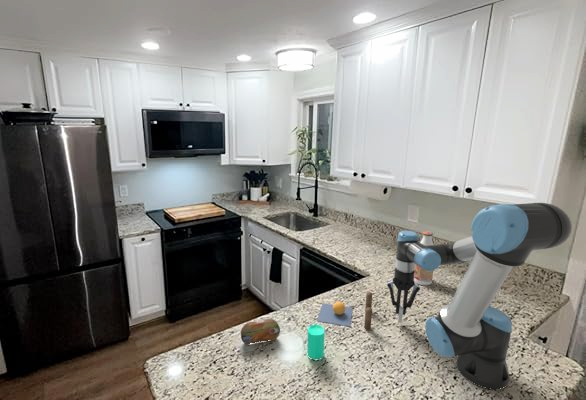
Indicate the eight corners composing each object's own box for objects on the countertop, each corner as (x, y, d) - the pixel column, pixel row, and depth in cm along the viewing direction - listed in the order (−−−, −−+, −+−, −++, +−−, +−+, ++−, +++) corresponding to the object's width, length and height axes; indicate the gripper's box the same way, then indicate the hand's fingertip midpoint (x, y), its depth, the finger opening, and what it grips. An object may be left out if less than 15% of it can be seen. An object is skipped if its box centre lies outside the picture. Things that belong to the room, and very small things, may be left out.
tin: (241, 347, 114) (240, 327, 113) (240, 341, 117) (239, 322, 116) (280, 340, 118) (280, 321, 116) (278, 335, 121) (278, 316, 119)
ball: (329, 310, 134) (337, 319, 133) (338, 304, 131) (347, 313, 131) (331, 303, 139) (339, 312, 138) (340, 297, 136) (348, 306, 136)
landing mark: (350, 326, 127) (350, 326, 127) (317, 321, 130) (317, 320, 130) (352, 308, 140) (352, 307, 140) (322, 303, 143) (322, 303, 143)
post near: (370, 330, 124) (372, 311, 122) (364, 329, 125) (365, 310, 123) (370, 327, 127) (372, 307, 125) (364, 326, 127) (365, 306, 125)
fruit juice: (426, 287, 159) (432, 237, 153) (409, 280, 166) (414, 232, 160) (435, 282, 165) (441, 233, 158) (418, 275, 172) (423, 228, 165)
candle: (313, 346, 115) (314, 318, 112) (326, 354, 111) (327, 325, 108) (303, 355, 110) (304, 326, 107) (317, 363, 106) (318, 333, 104)
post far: (371, 313, 136) (372, 295, 134) (365, 312, 137) (366, 294, 135) (371, 310, 138) (372, 292, 136) (365, 309, 139) (366, 291, 137)
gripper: (420, 266, 125) (415, 317, 130) (387, 263, 128) (383, 313, 133) (423, 274, 118) (417, 328, 123) (388, 270, 121) (383, 323, 126)
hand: (399, 320), depth 128 cm, fingers closed
